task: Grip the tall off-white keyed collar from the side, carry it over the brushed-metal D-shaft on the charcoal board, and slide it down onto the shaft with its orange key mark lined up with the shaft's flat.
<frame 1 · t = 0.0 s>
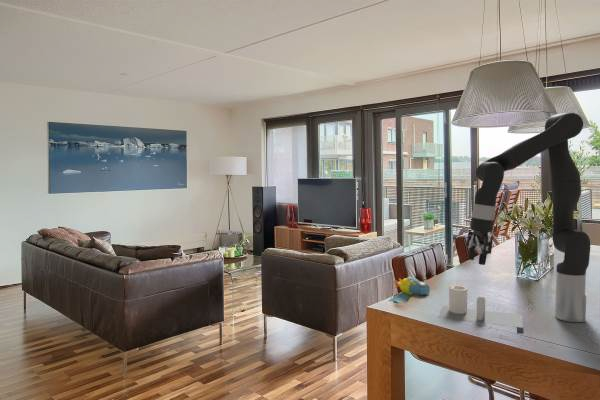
hand: (476, 262, 158), 22 cm above the table, tool pointing down, fingers open, 8 cm apart
blue and yellow toy: (412, 297, 194), on the table
keyed collar: (458, 310, 168), point 1 cm above the table, touching shaft board
shaft board: (480, 319, 162), on the table
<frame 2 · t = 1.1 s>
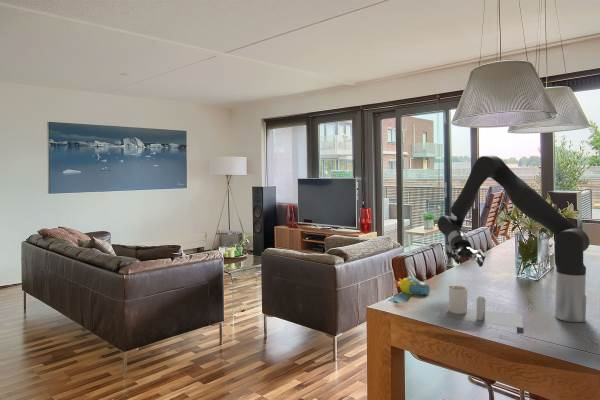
hand: (470, 263, 167), 20 cm above the table, tool tilted 70°, fingers open, 8 cm apart
nothing on the table moved.
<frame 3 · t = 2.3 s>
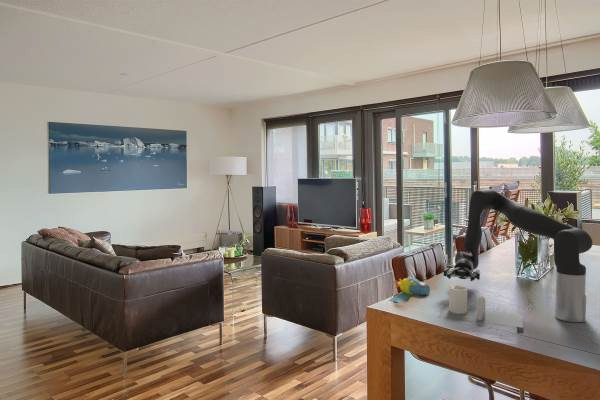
hand: (460, 277, 177), 12 cm above the table, tool horizontal, fingers open, 8 cm apart
nothing on the table moved.
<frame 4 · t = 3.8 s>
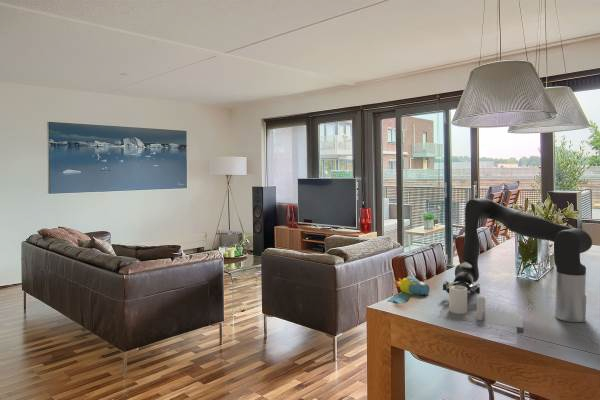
hand: (459, 292, 173), 7 cm above the table, tool horizontal, fingers open, 8 cm apart
nothing on the table moved.
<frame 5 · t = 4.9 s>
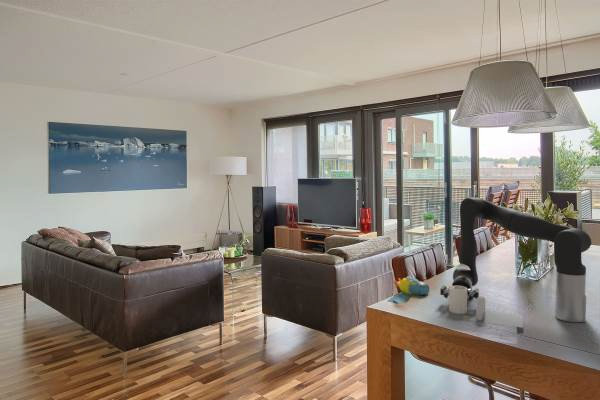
hand: (457, 297, 167), 7 cm above the table, tool horizontal, fingers open, 8 cm apart
nothing on the table moved.
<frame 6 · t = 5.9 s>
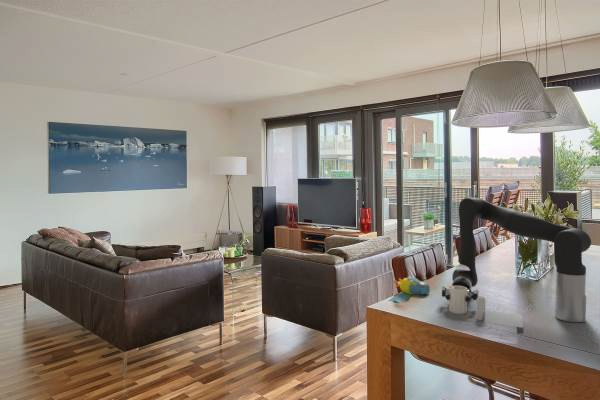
hand: (457, 298, 165), 7 cm above the table, tool horizontal, fingers closed on keyed collar, 6 cm apart
keyed collar: (458, 310, 168), point 2 cm above the table, touching gripper, shaft board
everything else where it was.
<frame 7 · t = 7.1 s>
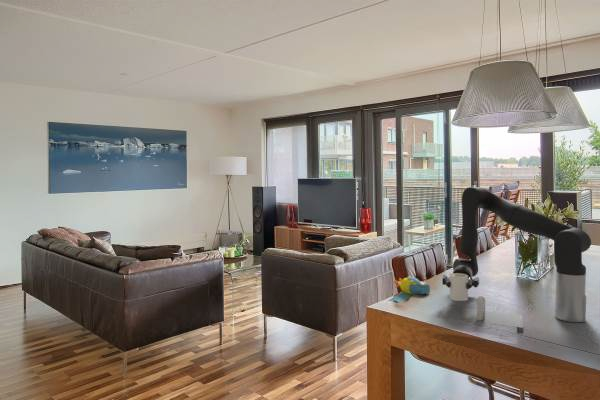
hand: (458, 285, 164), 12 cm above the table, tool horizontal, fingers closed on keyed collar, 6 cm apart
keyed collar: (458, 298, 167), point 6 cm above the table, touching gripper
everything else where it was.
when the fingers open (9 cm above the table, at t = 11.9 s): keyed collar drops 2 cm, resting on shaft board.
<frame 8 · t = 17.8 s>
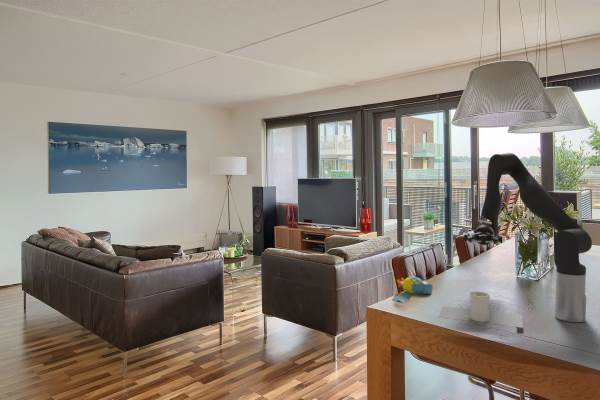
hand: (482, 240, 169), 28 cm above the table, tool horizontal, fingers open, 8 cm apart
blue and yellow toy: (414, 296, 195), on the table
keyed collar: (479, 318, 159), point 1 cm above the table, touching shaft board
at the end: keyed collar 0.1 cm from the target spot on the shaft board, point 1.5 cm above the shaft board's base; keyed collar tilted 0°; the gripper is holding nothing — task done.
